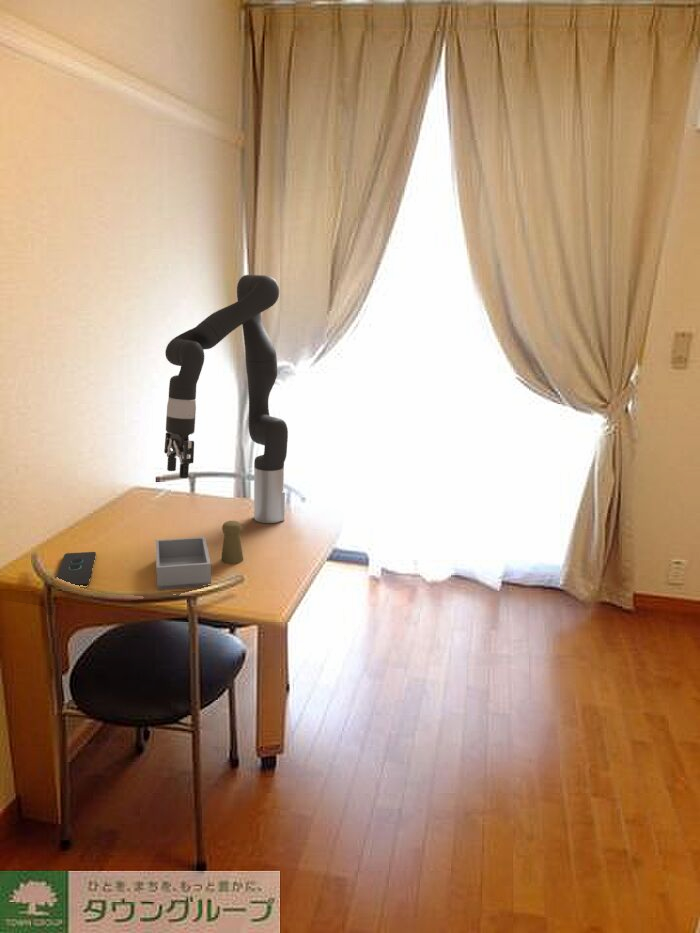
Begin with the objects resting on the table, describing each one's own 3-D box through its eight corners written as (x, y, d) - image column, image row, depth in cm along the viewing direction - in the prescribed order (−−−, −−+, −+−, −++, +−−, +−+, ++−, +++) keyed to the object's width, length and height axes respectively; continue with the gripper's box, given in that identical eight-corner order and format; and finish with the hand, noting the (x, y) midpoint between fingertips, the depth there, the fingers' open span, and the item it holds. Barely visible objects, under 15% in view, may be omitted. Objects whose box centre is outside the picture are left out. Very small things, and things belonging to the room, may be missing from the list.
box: (205, 557, 190) (204, 536, 188) (210, 585, 173) (210, 563, 172) (156, 560, 186) (155, 540, 185) (157, 590, 170) (156, 567, 168)
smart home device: (96, 551, 188) (88, 582, 170) (97, 556, 189) (88, 589, 170) (64, 552, 186) (52, 585, 168) (64, 558, 187) (52, 591, 168)
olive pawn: (222, 555, 192) (221, 518, 189) (244, 555, 192) (243, 518, 189) (219, 564, 186) (219, 526, 183) (242, 564, 186) (242, 526, 183)
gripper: (205, 419, 181) (201, 479, 184) (183, 411, 192) (180, 468, 195) (178, 419, 177) (174, 480, 180) (157, 410, 188) (154, 468, 191)
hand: (177, 474), depth 188 cm, fingers open, 8 cm apart
